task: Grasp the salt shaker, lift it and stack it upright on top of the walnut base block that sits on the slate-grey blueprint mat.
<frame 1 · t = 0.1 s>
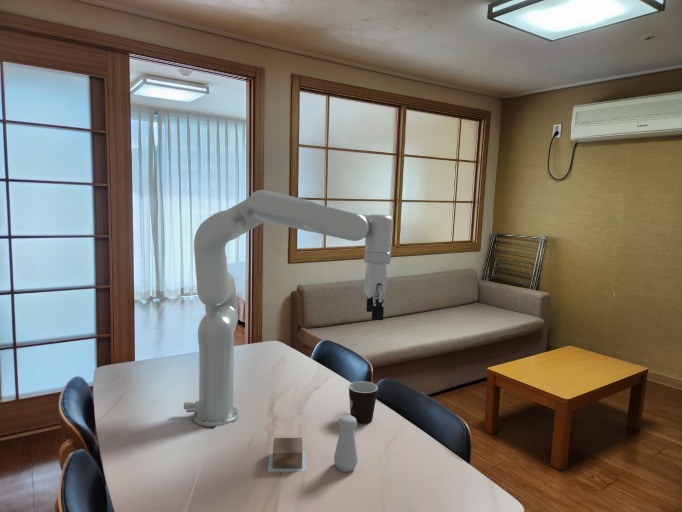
hand: (374, 315, 137), 31 cm above the table, fingers open, 9 cm apart
blueprint mat: (287, 462, 114), on the table
coffee mug: (362, 417, 140), on the table
base block: (287, 460, 114), resting on blueprint mat
salt shaker: (345, 469, 113), on the table
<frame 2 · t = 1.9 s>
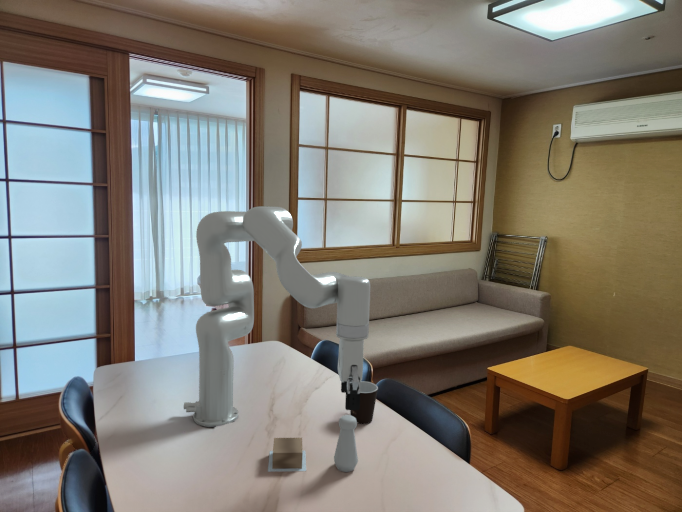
hand: (349, 400, 110), 17 cm above the table, fingers open, 9 cm apart
nothing on the table moved.
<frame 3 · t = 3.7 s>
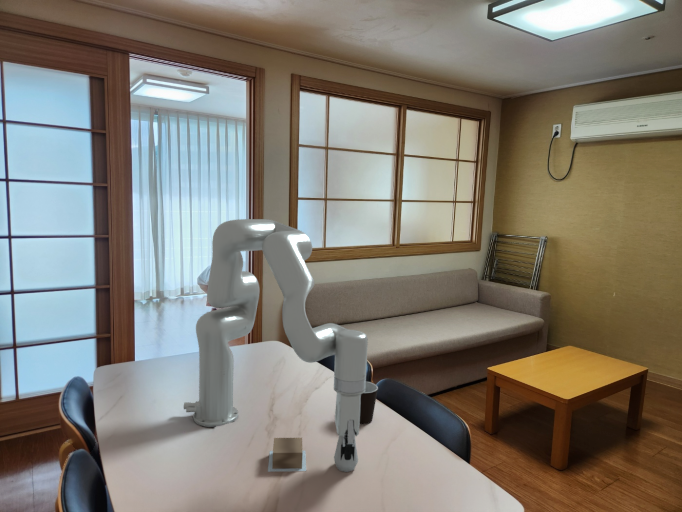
hand: (346, 456, 112), 3 cm above the table, fingers closed on salt shaker, 3 cm apart
salt shaker: (345, 469, 113), on the table, touching gripper
everything else where it was.
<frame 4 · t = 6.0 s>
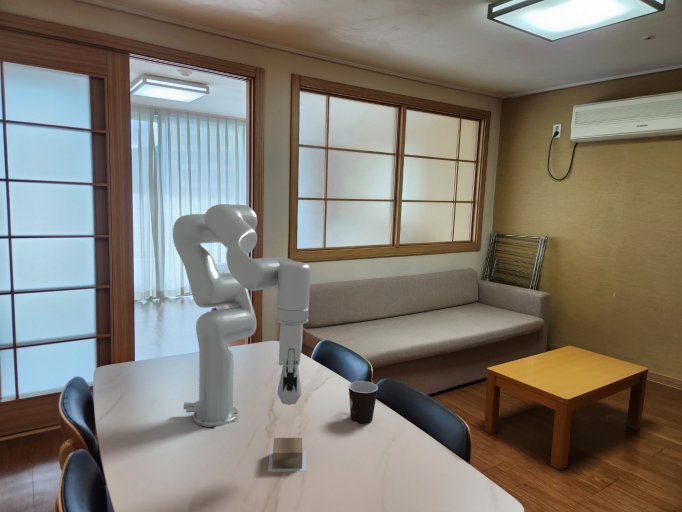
hand: (289, 388, 112), 19 cm above the table, fingers closed on salt shaker, 3 cm apart
salt shaker: (289, 401, 113), point 15 cm above the table, touching gripper
everything else where it was.
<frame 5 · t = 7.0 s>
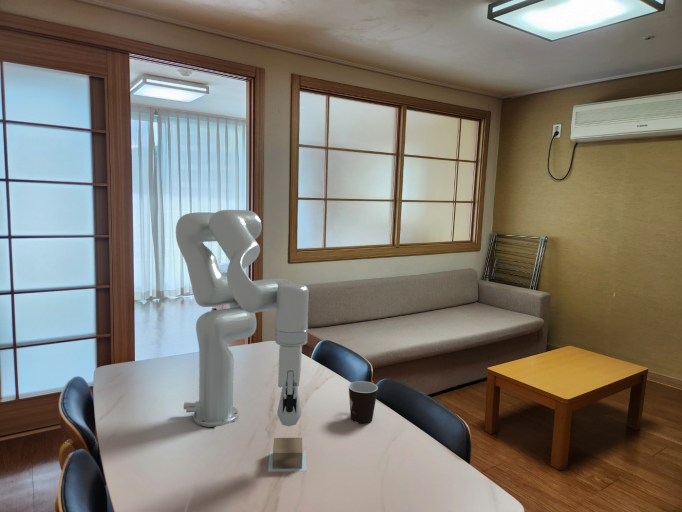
hand: (289, 409, 112), 14 cm above the table, fingers closed on salt shaker, 3 cm apart
salt shaker: (289, 422, 113), point 10 cm above the table, touching gripper
everything else where it was.
when the fingers open (9 cm above the table, at t = 8.1 s): salt shaker drops 1 cm, resting on base block.
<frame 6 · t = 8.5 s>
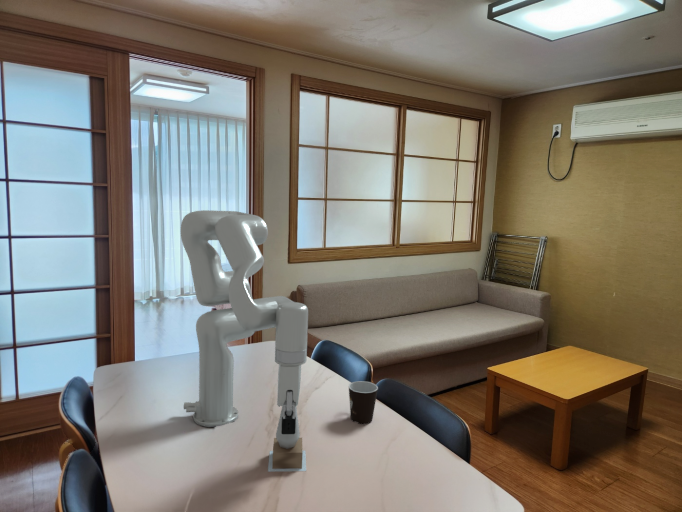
hand: (288, 424, 113), 10 cm above the table, fingers open, 7 cm apart
base block: (287, 460, 114), resting on blueprint mat, touching salt shaker
salt shaker: (287, 445, 114), point 4 cm above the table, touching base block
everything else where it was.
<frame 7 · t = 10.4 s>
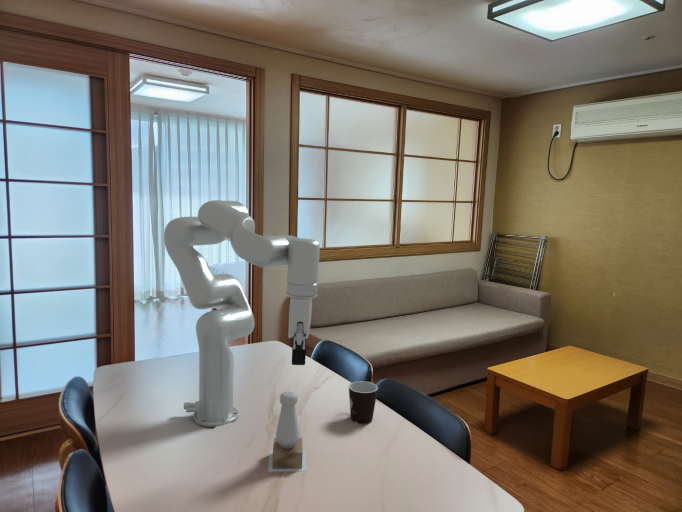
hand: (299, 357, 115), 25 cm above the table, fingers open, 9 cm apart
nothing on the table moved.
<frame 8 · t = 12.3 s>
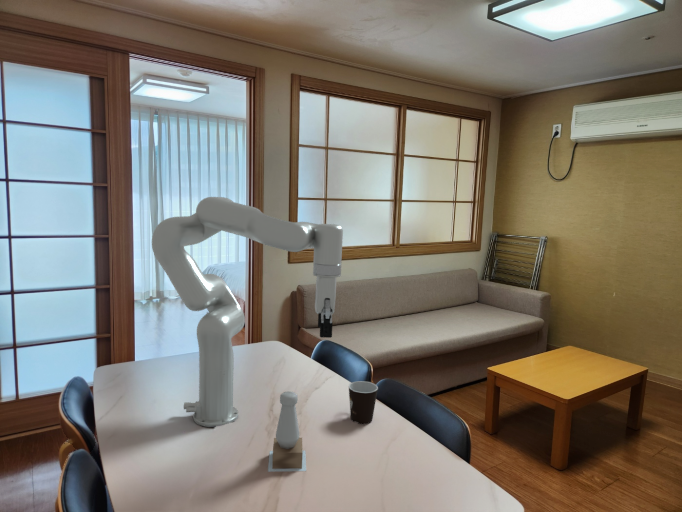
hand: (324, 331, 128), 28 cm above the table, fingers open, 9 cm apart
nothing on the table moved.
at the end: salt shaker 0.3 cm off-centre on the base block, point 3.8 cm above the base block's base; salt shaker tilted 0°; salt shaker touching base block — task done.
